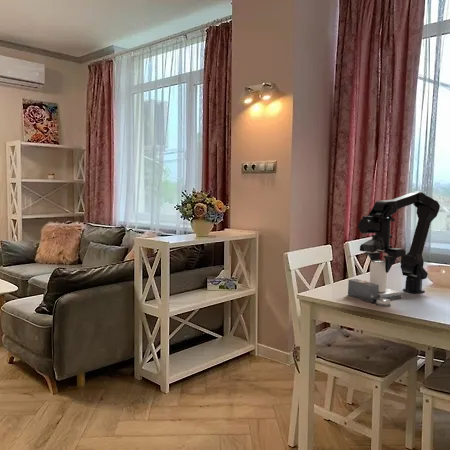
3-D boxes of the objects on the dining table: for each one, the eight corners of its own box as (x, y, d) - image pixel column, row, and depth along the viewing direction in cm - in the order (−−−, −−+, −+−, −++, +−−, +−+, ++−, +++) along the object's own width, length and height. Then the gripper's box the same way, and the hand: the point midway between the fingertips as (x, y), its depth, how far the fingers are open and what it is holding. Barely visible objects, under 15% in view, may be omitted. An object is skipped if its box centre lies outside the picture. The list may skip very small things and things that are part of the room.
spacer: (382, 302, 179) (383, 297, 179) (393, 306, 175) (393, 300, 174) (373, 304, 177) (373, 299, 176) (383, 307, 172) (383, 302, 172)
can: (366, 289, 189) (366, 260, 188) (379, 288, 191) (379, 259, 190) (376, 293, 183) (377, 262, 182) (390, 291, 185) (390, 261, 184)
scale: (376, 290, 197) (377, 274, 196) (401, 298, 185) (402, 281, 185) (346, 295, 189) (347, 278, 188) (371, 303, 177) (372, 285, 177)
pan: (378, 287, 196) (378, 286, 196) (399, 293, 186) (399, 291, 186) (358, 290, 190) (359, 288, 190) (379, 297, 181) (379, 294, 181)
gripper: (350, 231, 190) (349, 269, 191) (386, 236, 174) (385, 277, 175) (370, 230, 195) (368, 266, 197) (407, 234, 179) (405, 274, 180)
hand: (380, 271), depth 187 cm, fingers closed on can, 6 cm apart
